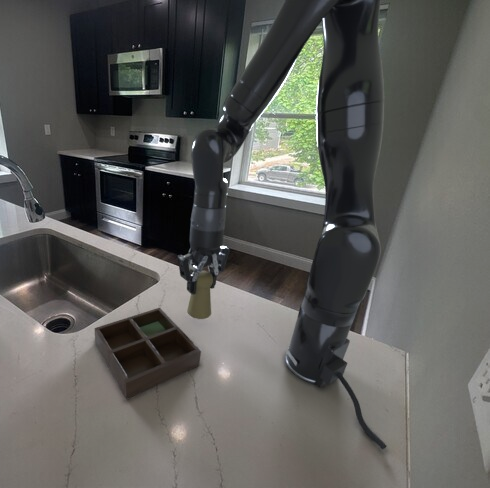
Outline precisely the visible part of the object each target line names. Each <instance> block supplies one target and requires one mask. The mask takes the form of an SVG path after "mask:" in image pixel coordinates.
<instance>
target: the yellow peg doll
mask: <svg viewBox="0 0 490 488" xmlns="http://www.w3.org/2000/svg"><path fill="white" fill-rule="evenodd" d="M209 272H210V271H207V270H202V271H201V273H199V275H198V277H197V280H196V281H197V284H196V294H194V295H192V294H191V293H190V297H189V300H188V305H187V309H186V310H187V314H188V316H189V317H192V318H194V319H197V320H206V319H208V318H209V317H211V315H212V301H211V298H212V297H211V288H210V287H211V286H212V283H213V276H212V275H211V274H210V273H209Z"/></svg>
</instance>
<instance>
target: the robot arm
mask: <svg viewBox="0 0 490 488" xmlns="http://www.w3.org/2000/svg"><path fill="white" fill-rule="evenodd" d="M381 2H382V0H284V2H283V3H282V5H281V7H280V8H279V10H278V12H277V14H276V16H275V18H274V20H273V22H272V24H271V26H270V27H269V29H268V31H267V33H266V34H265V36H264V38H263V39H262V41H261V43H260V45H259V46H258V48H257V49H256V51H255V53H254V54H253V55H252V58H251V59H250V61H249V62H248V63H247V65H246V67H245V68H244V70H243V72H242V73H241V74H240V76H239V77H238V79H237V81H236V82H235V84H234V85H233V87H232V88H231V90H230V91H229V93H228V94H227V96H226V97H225V99H224V101H223V104H222V112H223V114H222V116H221V117H220V119H219V121H218V123H217V124H216V126H215V127H207V128H204V129H202V130H200V131H198V133H197V134H196V135H195V137H194V139H193V142H192V145H191V150H190V152H191V153H190V157H191V166H192V174H193V181H194V190H193V193H194V194H193V201H192V202H193V203H192V204H193V205H192V209H191V214H190V215H191V216H190V229H189V245H190V248H189V250H188V253H187V254H184V255H182V254H178V255H177V262H178V269H179V276H180V277H181V278H182V279H184V280H185V281H186V291H187V292H188V293H189V294H190V295H191V294H192V295H194V294H196V284H197V281H196V280H197V277H198V275H199V273H201V271H203V269H204V268H205V267H207V269H208V272H209V273H210V274H211V275H212V276H213V283H212V286H211V287H210V290H212V289H215V287H216V284H217V279H218V275H219V273H220V272H224V271H225V270H226V266H227V262H228V259H229V255H230V253H231V249H230V248H229V247H227V246H225V245H223V243H224V235H225V227H226V219H227V200H228V192H229V184H228V183H229V182H228V180H227V179H226V178H224V164H225V163H228V162H229V161H231V160H232V159H233V158H234V157H235V155H236V154H237V153H238V152H239V150H240V149H241V148H242V146H243V145H244V143H245V141H246V139H247V138H248V135H249V133H250V132H251V130H252V127H253V126H254V124H255V123H256V122H257V120H259V118H260V117H261V115H263V113H264V111H265V110H267V108H268V106H269V105H270V104H271V102H272V101H273V100H274V99H275V97H276V96H277V95H278V93H279V91H280V90H281V88H282V87H283V86H284V83H285V82H286V80H287V78H288V77H289V75H290V73H291V71H292V70H293V67H294V66H295V63H296V61H297V60H298V58H299V56H300V55H301V52H302V51H303V49H304V47H305V46H306V44H307V43H308V41H309V40H310V38H311V36H312V35H313V34H314V32H315V31H316V29H317V28H318V26H319V25H320V24H322V25H321V26H322V36H323V37H322V40H323V41H322V42H323V51H322V59H321V67H320V72H319V78H318V85H317V91H316V92H317V93H316V94H317V95H316V106H315V107H316V108H315V109H316V110H315V114H316V116H315V119H316V121H315V122H316V123H315V124H316V143H317V151H318V159H319V164H320V169H321V173H322V178H323V183H324V189H325V190H324V191H325V200H324V214H323V221H322V222H323V223H322V229H321V232H320V236H319V238H318V241H317V245H316V247H315V252H314V255H313V259H312V263H311V265H310V266H311V267H310V269H309V274H308V277H307V281H306V285H305V289H304V292H303V296H302V298H301V299H302V300H301V303H300V306H299V310H298V314H297V317H296V321H295V325H294V328H293V331H292V335H291V338H290V343H289V347H288V348H286V351H285V352H286V355H285V358H284V359H285V364H286V366H287V369H288V370H289V371H290V372H291V373H292V374H293V375H295V376H296V377H297V378H299V379H301V380H302V381H304V382H307V383H309V384H313V385H315V386H316V387H317V388H322V387H324V386H325V385H327V384H328V385H330V384H332V383H333V382H335V381H337V380H339V381H340V383H341V384H342V386H343V387H344V389H345V390H346V392H347V393H348V395H349V397H350V399H351V402H352V404H353V405H354V412H355V416H356V420H357V421H358V424H359V425H360V427H361V428H362V430H363V431H364V433H366V435H367V436H368V437H369V439H371V440H372V441H373V442H375V444H377V446H379V448H380V449H381V450H385V449H386V448H387V447H388V445H387V444H386V443H385V442H384V441H383V440H382V439H381V438H380V437H379V436H377V434H375V433H374V432H373V431H372V430H371V428H370V427H369V426H368V425H367V423H366V421H365V420H364V417H363V414H362V409H361V405H360V402H359V399H358V398H357V396H356V394H355V392H354V390H353V389H352V387H351V386H350V384H349V382H348V381H347V380H346V378H345V377H344V373H345V371H346V369H347V366H348V362H347V361H346V360H344V359H345V356H346V353H347V351H348V348H349V345H350V343H351V340H350V339H349V338H348V336H349V333H350V331H351V328H352V325H353V323H354V320H355V318H356V315H357V312H358V310H359V307H360V304H361V303H362V302H363V300H364V298H365V297H366V295H367V292H368V290H369V287H370V284H371V282H372V280H373V277H374V275H375V272H376V271H377V267H378V265H379V262H380V258H381V254H382V246H381V245H382V244H381V241H380V234H379V231H378V228H377V222H376V213H375V199H374V187H375V186H374V185H375V184H374V183H375V179H376V173H377V168H378V164H379V160H380V154H381V151H382V150H381V149H382V143H383V137H384V136H383V135H384V125H385V123H384V122H385V79H384V66H383V59H382V52H381V45H380V38H379V22H380V21H379V20H380V12H381Z"/></svg>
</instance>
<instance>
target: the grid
mask: <svg viewBox="0 0 490 488" xmlns="http://www.w3.org/2000/svg"><path fill="white" fill-rule="evenodd" d="M94 343H95V345H96V347H97V349H98V351H99V352H100V354H101V356H102V358H103V360H104V361H105V363H106V365H107V367H108V369H109V370H110V373H111V374H112V376H113V378H114V380H115V382H116V384H117V385H118V387H119V389H120V390H121V392H122V394H123V396H124V399H125V400H129V399H130V398H133V397H135V396H137V395H139V394H142V393H143V392H145V391H147V390H149V389H152V388H154V387H157V386H159V385H161V384H163V383H165V382H167V381H170V380H171V379H174V378H175V377H178V376H180V375H182V374H184V373H186V372H189V371H191V370H193V369H195V368H198V367H200V363H201V354H202V350H201V348H199V346H198V345H196V344H195V343H194V342H193V341H192V339H191V338H190V337H189V336H188V335H187V334H186V333H185V332H184V331H183V330H182V329H181V327H179V325H178V324H176V323H175V322H174V321H173V320H172V318H171V317H170V316H169V315H168V314H167V313H166V312H165V311H164V310H163V309H162V308H161V307H157V308H154V309H151V310H148V311H144V312H141V313H138V314H135V315H132V316H128V317H125V318H121V319H119V320H116V321H113V322H110V323H109V322H108V323H107V324H103V325H100V326H97V327H94Z"/></svg>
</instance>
